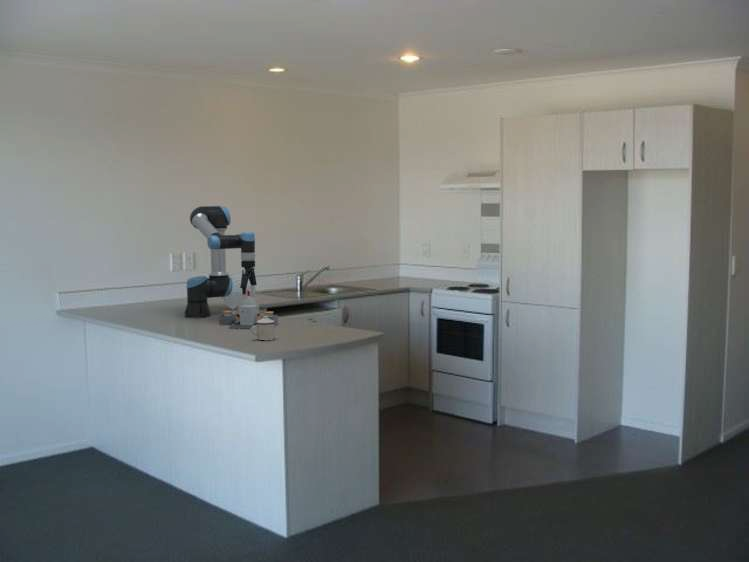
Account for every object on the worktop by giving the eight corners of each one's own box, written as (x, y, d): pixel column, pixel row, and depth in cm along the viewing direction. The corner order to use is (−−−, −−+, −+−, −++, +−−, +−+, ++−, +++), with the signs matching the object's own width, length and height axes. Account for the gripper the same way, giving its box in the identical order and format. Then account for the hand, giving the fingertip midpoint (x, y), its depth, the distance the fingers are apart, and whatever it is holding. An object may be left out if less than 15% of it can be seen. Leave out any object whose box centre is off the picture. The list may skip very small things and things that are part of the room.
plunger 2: (266, 321, 450) (266, 311, 450) (274, 321, 449) (274, 311, 449) (263, 323, 446) (263, 312, 445) (272, 323, 445) (272, 312, 444)
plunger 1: (225, 320, 454) (225, 310, 454) (233, 320, 454) (233, 310, 453) (222, 322, 450) (221, 311, 449) (230, 322, 449) (230, 311, 448)
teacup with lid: (271, 337, 408) (271, 314, 407) (277, 340, 400) (277, 316, 399) (248, 339, 403) (248, 316, 402) (254, 342, 395) (253, 318, 394)
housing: (225, 322, 458) (225, 313, 458) (278, 323, 453) (278, 314, 452) (217, 325, 447) (217, 316, 446) (272, 326, 441) (272, 317, 441)
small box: (257, 324, 451) (256, 305, 450) (253, 325, 446) (252, 306, 445) (244, 323, 453) (243, 304, 452) (239, 325, 448) (239, 306, 447)
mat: (234, 326, 444) (234, 324, 444) (255, 326, 442) (255, 325, 442) (228, 328, 436) (228, 327, 436) (249, 329, 433) (249, 328, 433)
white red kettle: (262, 314, 489) (261, 289, 487) (256, 317, 475) (256, 292, 473) (239, 314, 490) (238, 289, 488) (233, 317, 476) (232, 292, 475)
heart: (211, 308, 517) (210, 273, 515) (233, 305, 527) (232, 271, 524) (232, 312, 495) (231, 276, 493) (254, 310, 505) (254, 274, 502)
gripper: (247, 262, 433) (248, 301, 436) (261, 258, 458) (262, 295, 460) (233, 261, 434) (234, 301, 437) (248, 258, 459) (249, 295, 461)
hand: (248, 298), depth 448 cm, fingers open, 13 cm apart
